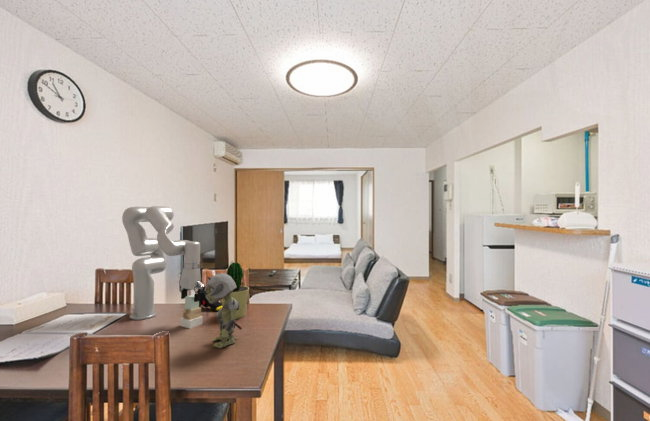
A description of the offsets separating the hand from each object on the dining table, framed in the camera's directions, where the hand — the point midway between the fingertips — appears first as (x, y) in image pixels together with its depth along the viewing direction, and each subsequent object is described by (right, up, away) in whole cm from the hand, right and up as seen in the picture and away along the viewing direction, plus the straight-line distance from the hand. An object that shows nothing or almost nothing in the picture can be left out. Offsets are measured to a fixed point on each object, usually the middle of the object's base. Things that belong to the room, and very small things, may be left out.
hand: (190, 299), depth 154 cm
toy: (+24, -12, -22) cm, 35 cm away
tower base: (+1, -13, -1) cm, 13 cm away
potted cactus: (+18, -13, +14) cm, 26 cm away
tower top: (+1, -9, 0) cm, 9 cm away
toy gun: (-2, -13, +26) cm, 29 cm away
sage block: (+1, -4, 0) cm, 4 cm away
